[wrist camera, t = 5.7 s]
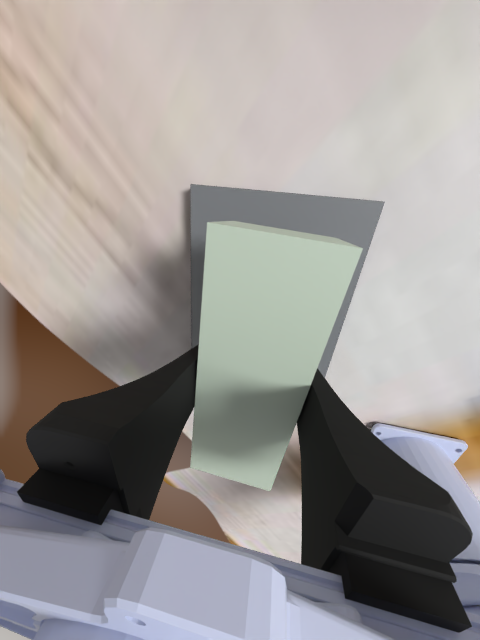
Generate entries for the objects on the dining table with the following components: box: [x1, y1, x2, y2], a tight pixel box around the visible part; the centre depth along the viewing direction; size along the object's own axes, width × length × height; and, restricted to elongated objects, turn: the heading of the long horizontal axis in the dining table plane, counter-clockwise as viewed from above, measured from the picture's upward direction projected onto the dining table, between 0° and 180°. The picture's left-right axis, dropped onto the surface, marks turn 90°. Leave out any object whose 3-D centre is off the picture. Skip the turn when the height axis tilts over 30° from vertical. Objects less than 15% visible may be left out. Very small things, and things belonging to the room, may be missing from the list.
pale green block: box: [190, 221, 363, 491], centre depth 12 cm, size 14×5×4 cm, turn 172°
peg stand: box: [191, 184, 385, 378], centre depth 16 cm, size 18×12×4 cm, turn 175°
